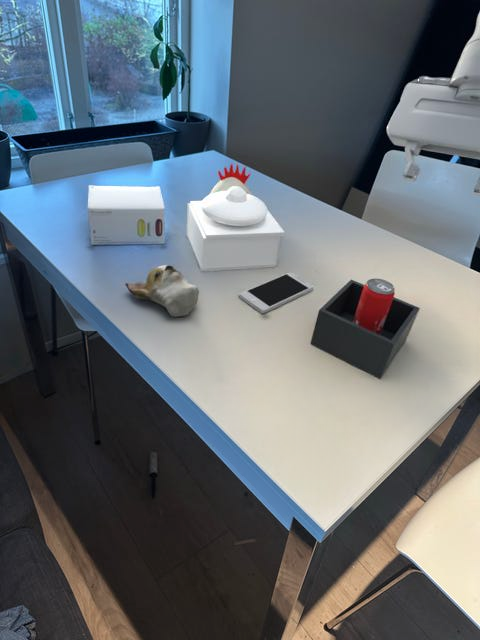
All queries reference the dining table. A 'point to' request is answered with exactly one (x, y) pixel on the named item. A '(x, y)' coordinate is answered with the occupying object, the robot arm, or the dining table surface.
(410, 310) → the bin
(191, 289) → the ceramic sculpture
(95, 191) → the supplement box
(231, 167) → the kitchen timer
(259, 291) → the smartphone
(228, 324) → the dining table surface
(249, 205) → the butter dish
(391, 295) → the beverage can
